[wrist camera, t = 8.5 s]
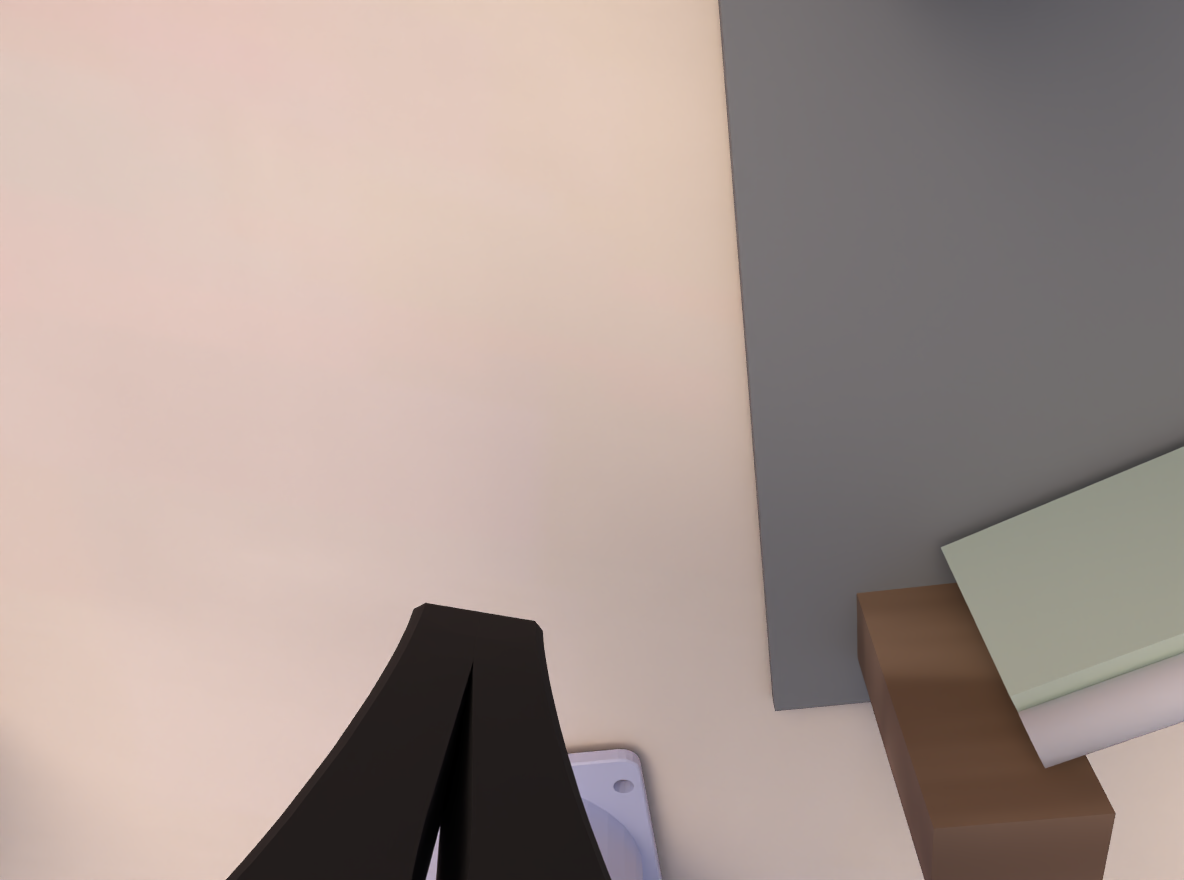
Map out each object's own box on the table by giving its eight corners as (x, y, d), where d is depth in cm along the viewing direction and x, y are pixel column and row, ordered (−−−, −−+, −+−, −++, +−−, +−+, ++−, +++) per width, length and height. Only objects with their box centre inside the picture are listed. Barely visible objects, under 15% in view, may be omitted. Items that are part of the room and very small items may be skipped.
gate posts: (983, 632, 23) (1101, 885, 18) (853, 646, 23) (930, 898, 18) (1054, -301, 14) (1351, -386, 8) (839, -262, 14) (988, -319, 9)
